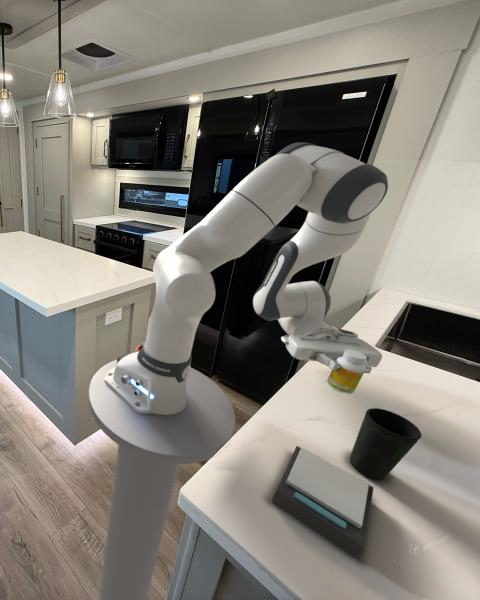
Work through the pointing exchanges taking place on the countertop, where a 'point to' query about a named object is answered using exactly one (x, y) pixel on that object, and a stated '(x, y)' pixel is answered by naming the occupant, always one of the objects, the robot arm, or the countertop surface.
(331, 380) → the supplement bottle
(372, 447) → the cup
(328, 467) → the kitchen scale
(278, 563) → the countertop surface
